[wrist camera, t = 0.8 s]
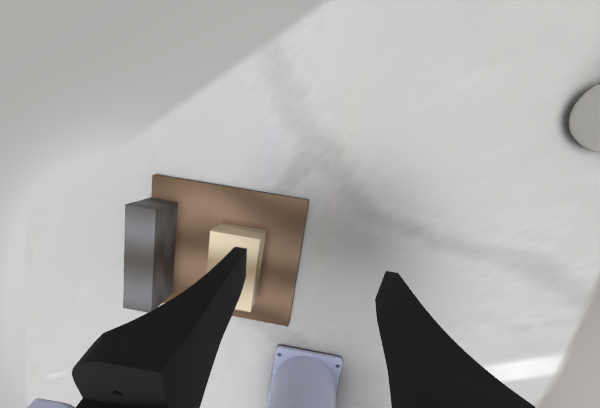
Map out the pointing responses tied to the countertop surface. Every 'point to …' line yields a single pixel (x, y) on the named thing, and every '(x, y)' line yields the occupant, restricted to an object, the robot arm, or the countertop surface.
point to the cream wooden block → (253, 240)
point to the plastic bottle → (587, 119)
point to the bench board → (195, 242)
